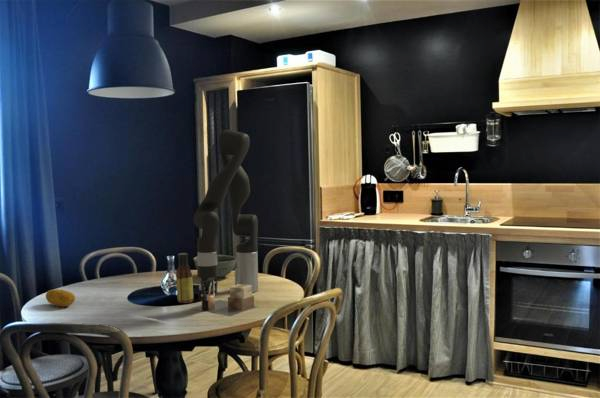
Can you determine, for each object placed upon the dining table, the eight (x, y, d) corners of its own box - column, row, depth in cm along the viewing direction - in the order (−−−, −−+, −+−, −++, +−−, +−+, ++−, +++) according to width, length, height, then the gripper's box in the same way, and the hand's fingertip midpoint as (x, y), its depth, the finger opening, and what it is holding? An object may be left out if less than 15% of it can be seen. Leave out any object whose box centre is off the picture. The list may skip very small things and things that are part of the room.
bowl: (195, 274, 286) (194, 254, 286) (237, 273, 288) (237, 253, 288) (192, 283, 266) (191, 261, 265) (237, 281, 268) (237, 260, 267)
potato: (61, 310, 218) (60, 293, 218) (42, 305, 226) (41, 288, 226) (79, 306, 224) (79, 289, 224) (60, 301, 233) (59, 285, 232)
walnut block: (228, 307, 217) (227, 297, 217) (240, 303, 223) (240, 293, 222) (242, 310, 213) (241, 299, 213) (254, 306, 219) (254, 295, 218)
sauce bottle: (196, 301, 230) (195, 252, 229) (188, 305, 224) (187, 255, 223) (182, 300, 232) (180, 252, 231) (173, 304, 226) (172, 254, 225)
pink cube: (199, 309, 215) (198, 295, 215) (208, 306, 219) (207, 293, 219) (208, 310, 213) (208, 297, 212) (217, 308, 217) (217, 295, 216)
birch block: (230, 297, 216) (229, 287, 216) (238, 294, 222) (238, 284, 221) (243, 299, 214) (243, 288, 213) (251, 295, 219) (251, 285, 219)
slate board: (190, 310, 217) (190, 308, 217) (219, 301, 230) (219, 299, 230) (229, 318, 205) (229, 316, 205) (258, 308, 218) (258, 306, 218)
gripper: (208, 267, 207) (209, 313, 208) (224, 260, 221) (224, 304, 222) (189, 266, 209) (190, 312, 210) (206, 260, 223) (206, 303, 224)
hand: (208, 308), depth 216 cm, fingers closed on pink cube, 4 cm apart
